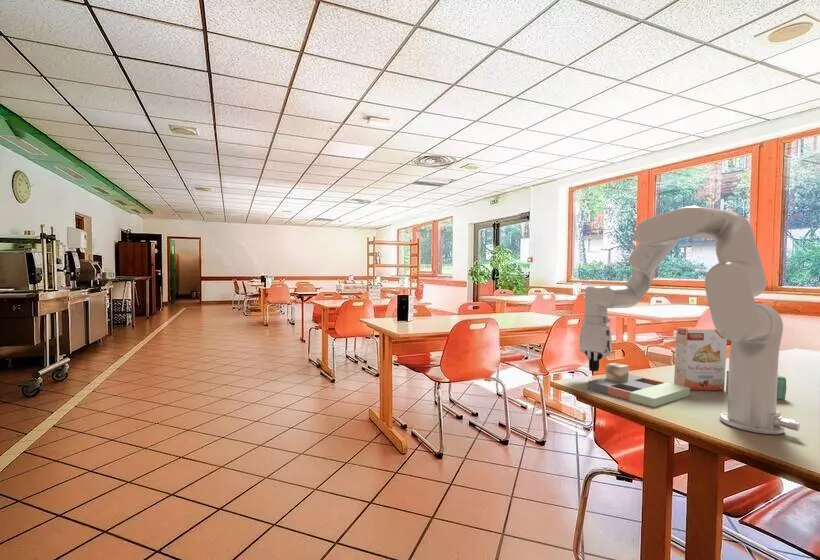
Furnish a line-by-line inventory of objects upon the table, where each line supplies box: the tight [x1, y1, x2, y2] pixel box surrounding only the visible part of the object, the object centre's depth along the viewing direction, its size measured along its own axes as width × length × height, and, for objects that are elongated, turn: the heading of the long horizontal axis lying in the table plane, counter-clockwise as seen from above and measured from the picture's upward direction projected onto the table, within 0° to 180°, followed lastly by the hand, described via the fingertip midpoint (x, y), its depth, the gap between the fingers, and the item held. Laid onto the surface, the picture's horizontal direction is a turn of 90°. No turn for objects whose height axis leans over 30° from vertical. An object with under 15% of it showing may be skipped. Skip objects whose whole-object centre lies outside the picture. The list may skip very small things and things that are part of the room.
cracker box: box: [673, 326, 728, 391], centre depth 135 cm, size 14×6×21 cm, turn 92°
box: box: [725, 370, 787, 401], centre depth 128 cm, size 7×14×8 cm, turn 87°
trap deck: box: [587, 373, 691, 408], centre depth 130 cm, size 21×23×2 cm
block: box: [605, 362, 630, 382], centre depth 135 cm, size 5×5×5 cm
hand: (593, 370), depth 143 cm, fingers closed
